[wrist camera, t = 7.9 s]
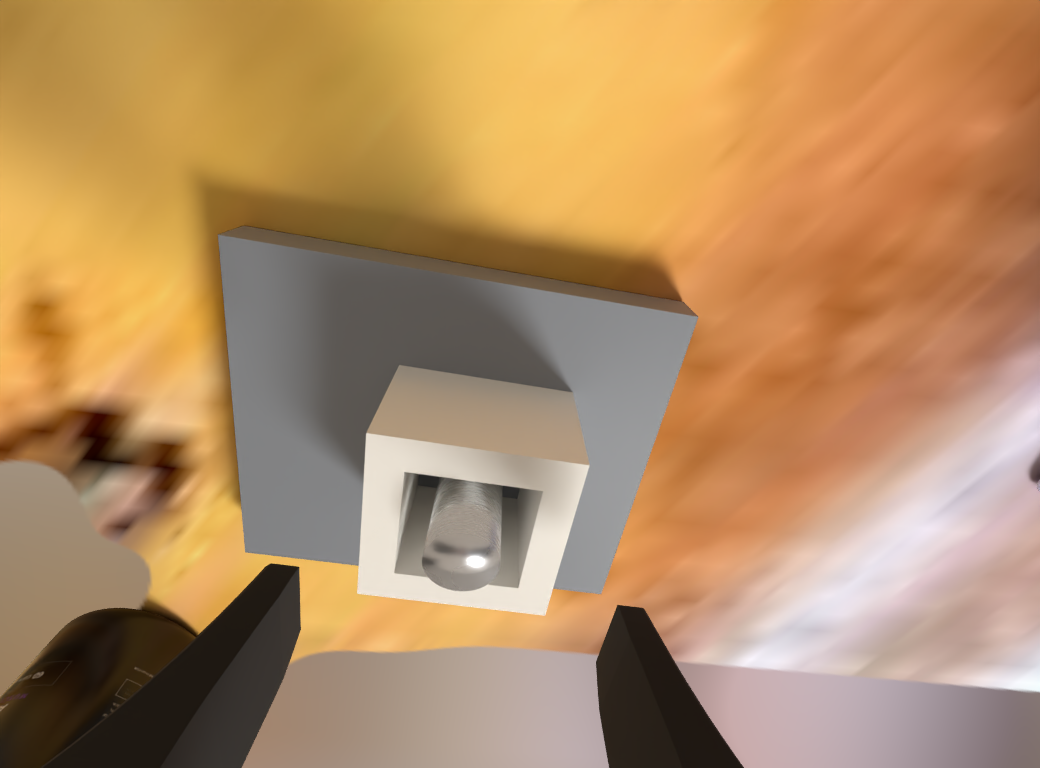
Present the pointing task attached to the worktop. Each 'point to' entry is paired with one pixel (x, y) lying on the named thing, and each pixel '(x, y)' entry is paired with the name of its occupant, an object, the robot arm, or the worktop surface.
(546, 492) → the collar
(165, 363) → the worktop surface
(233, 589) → the worktop surface
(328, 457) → the shaft board
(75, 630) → the supplement bottle
